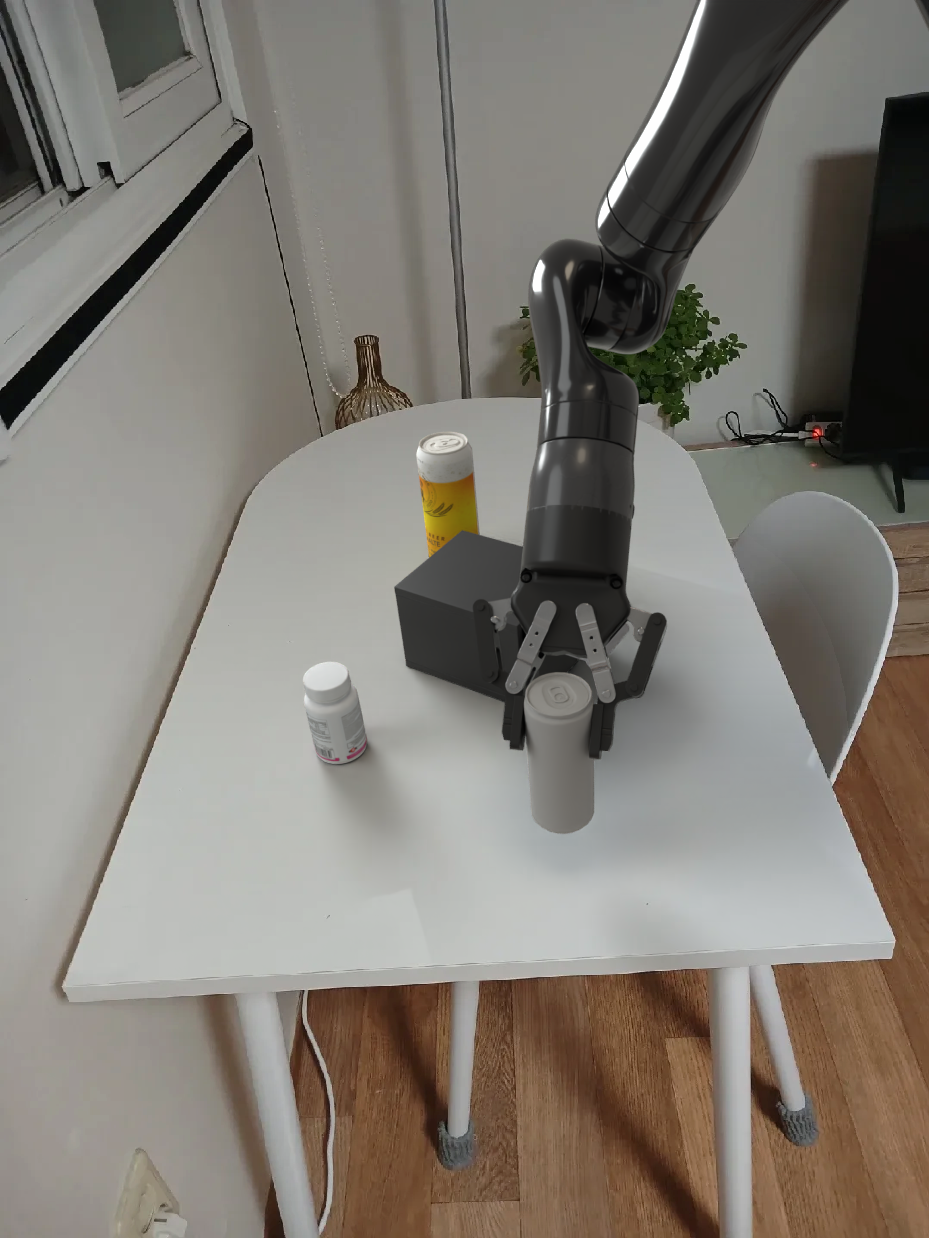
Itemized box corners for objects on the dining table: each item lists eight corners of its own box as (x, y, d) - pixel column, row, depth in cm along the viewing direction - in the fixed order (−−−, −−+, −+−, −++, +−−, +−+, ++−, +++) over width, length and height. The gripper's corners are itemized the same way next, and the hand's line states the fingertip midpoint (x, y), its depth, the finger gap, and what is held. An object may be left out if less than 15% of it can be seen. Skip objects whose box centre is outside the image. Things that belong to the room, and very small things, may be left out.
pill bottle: (363, 724, 89) (349, 653, 84) (372, 758, 85) (357, 686, 80) (312, 736, 88) (295, 665, 83) (319, 771, 84) (301, 698, 79)
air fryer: (581, 641, 96) (580, 561, 91) (522, 708, 89) (516, 626, 83) (469, 606, 103) (462, 529, 97) (405, 665, 96) (393, 586, 90)
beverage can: (542, 845, 70) (536, 724, 63) (522, 799, 73) (514, 680, 66) (604, 828, 70) (605, 706, 63) (581, 783, 74) (579, 664, 67)
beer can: (423, 553, 113) (408, 436, 104) (472, 541, 114) (461, 425, 105) (437, 579, 108) (423, 459, 99) (488, 567, 109) (478, 447, 100)
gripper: (470, 496, 66) (442, 742, 64) (681, 505, 63) (659, 766, 60) (491, 522, 73) (467, 744, 71) (681, 533, 70) (662, 766, 68)
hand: (555, 753), depth 66 cm, fingers closed on beverage can, 5 cm apart
